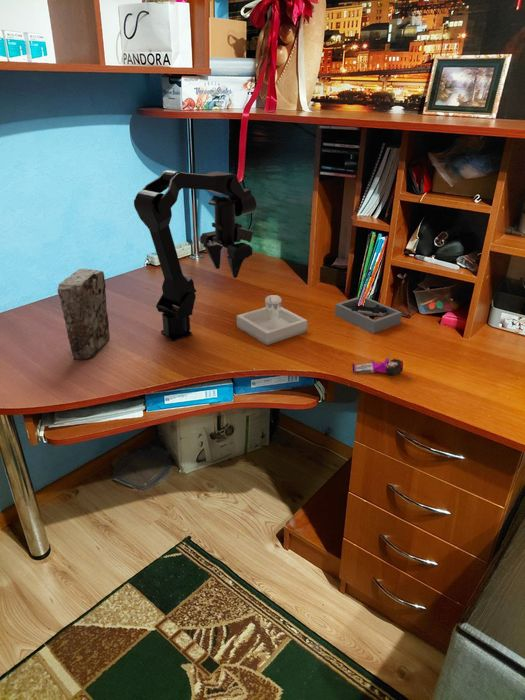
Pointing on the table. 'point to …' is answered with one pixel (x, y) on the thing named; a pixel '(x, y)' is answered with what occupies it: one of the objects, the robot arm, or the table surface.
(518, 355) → the table surface
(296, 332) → the tray
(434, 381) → the table surface
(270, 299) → the milkshake
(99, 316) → the stone block
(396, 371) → the character figurine
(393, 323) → the gray open box
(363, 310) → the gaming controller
